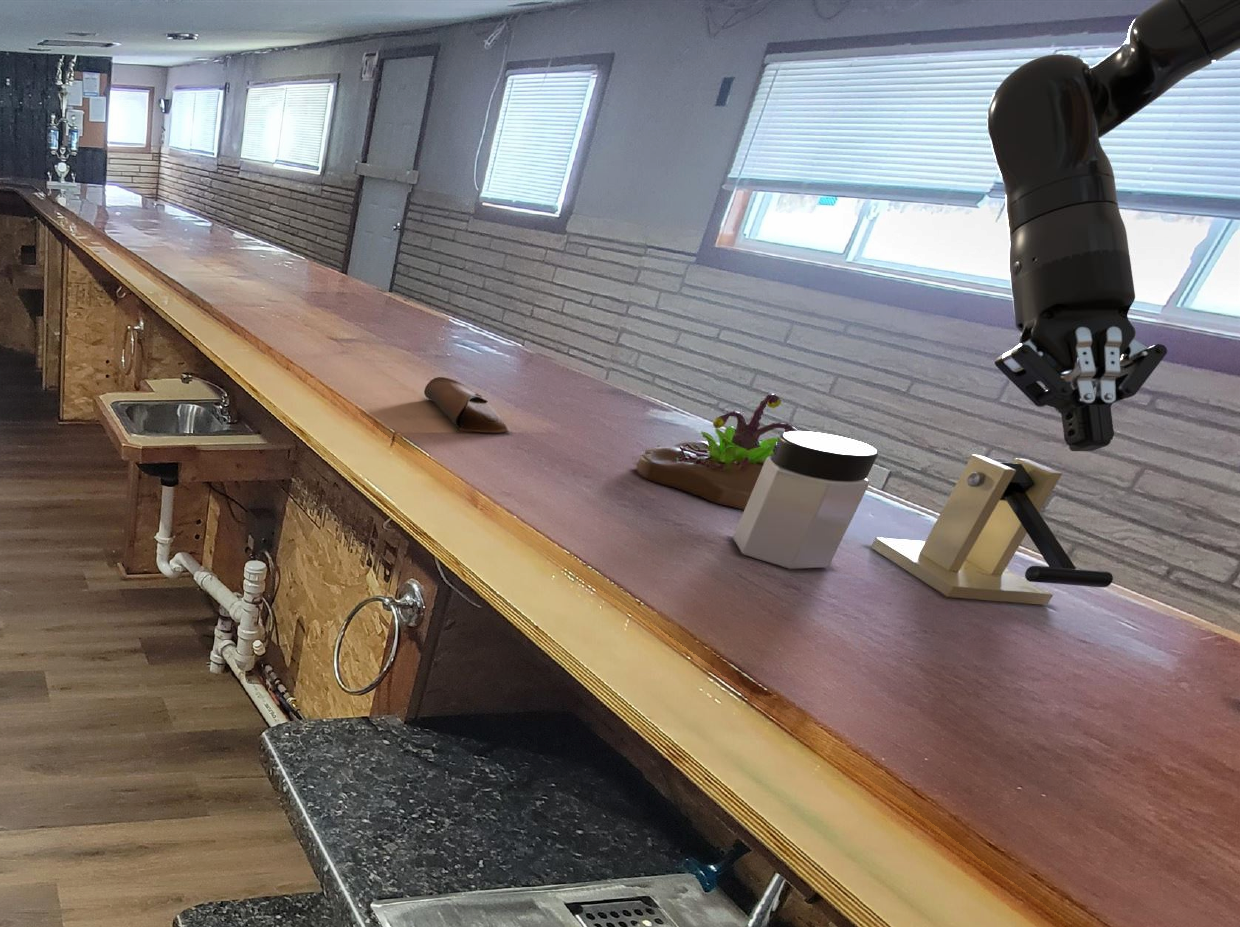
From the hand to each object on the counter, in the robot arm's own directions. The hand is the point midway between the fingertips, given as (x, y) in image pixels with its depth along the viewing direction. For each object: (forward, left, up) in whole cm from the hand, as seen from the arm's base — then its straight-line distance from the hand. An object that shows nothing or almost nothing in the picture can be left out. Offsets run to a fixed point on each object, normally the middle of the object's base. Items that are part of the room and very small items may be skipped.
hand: (1090, 448), depth 80 cm
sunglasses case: (+40, -53, -15) cm, 68 cm away
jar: (+18, -6, -15) cm, 24 cm away
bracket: (+2, -4, -15) cm, 15 cm away
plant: (+12, -29, -15) cm, 35 cm away
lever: (+2, +1, -8) cm, 8 cm away
